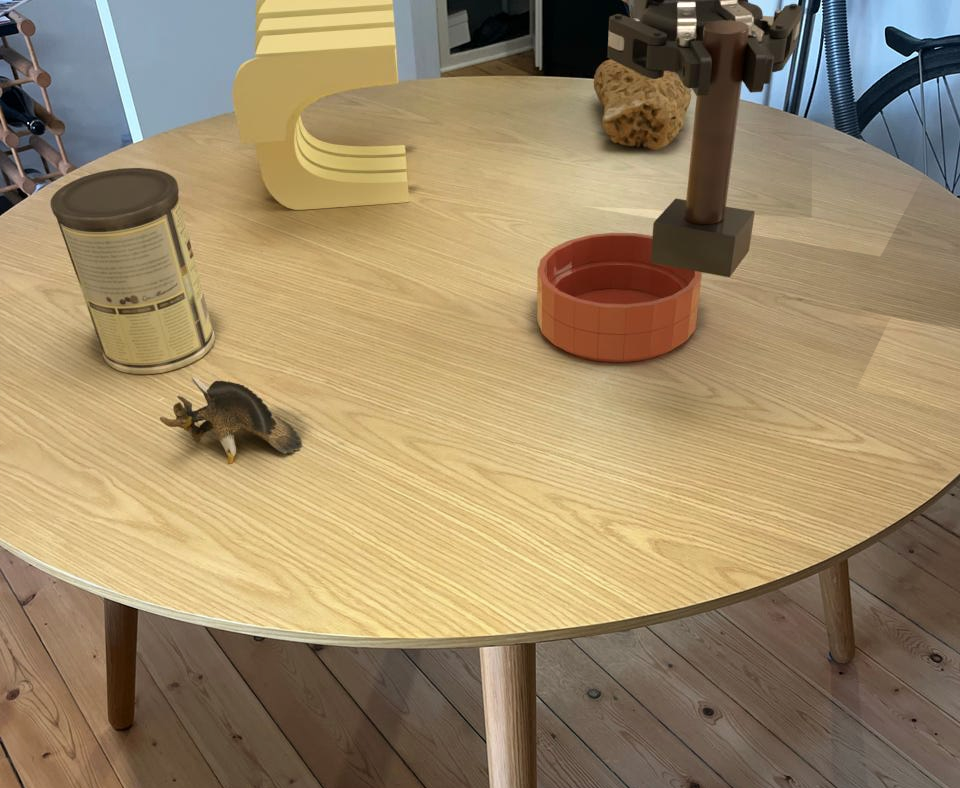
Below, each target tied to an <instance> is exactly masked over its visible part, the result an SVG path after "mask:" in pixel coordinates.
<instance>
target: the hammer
mask: <svg viewBox="0 0 960 788" xmlns="http://www.w3.org/2000/svg"><path fill="white" fill-rule="evenodd" d="M748 33H749V26H748V25H747V24H745V23H743V22H739V21H732V20H721V21H714V22H710V23H708V24H706V25H705V26H704V29H703V39H702V44H703V45H704V46H705V48H706V49H707V51H708V52H709V54H710V56H711V59H712V67H711V77H710V86H709V93H708V95H700V96H696V99H695V109H694V119H693V129H692V140H691V149H690V158H689V169H688V178H687V186H686V187H687V188H686V199H682V198H674V199H673V200H672V201H671V203H670V204H669V205H668V206H667V207H666V208H665V209H664V210H663V212H661V214H659V216H658V217H657V218H656V219H655V220H654V221H653V225H652V235H651V236H652V248H651V261H650V262H651V263H655V264H660V265H666V266H671V267H676V268H682V269H687V270H692V271H698V272H702V274H708V275H709V274H710V275H713V276H714V275H715V276H719V277H725V278H731V276H732V275H733V274H734V272H735V271H736V269H738V267H739V265H740V264H741V263H742V261H743V260H744V259H745V257H746V256H747V254H748V253H749V252H750V246H751V240H752V234H753V226H754V220H755V214H756V212H755V210H749V209H744V208H737V207H732V206H727V203H728V202H727V200H728V193H729V187H730V178H731V170H732V163H733V162H732V161H733V154H734V147H735V141H736V139H735V138H736V131H737V126H738V123H737V122H738V117H739V109H740V100H741V95H742V94H741V93H742V88H743V87H742V86H743V81H742V79H743V71H744V64H745V56H746V48H747V40H748Z"/></svg>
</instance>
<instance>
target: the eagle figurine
mask: <svg viewBox="0 0 960 788" xmlns="http://www.w3.org/2000/svg"><path fill="white" fill-rule="evenodd" d="M190 379H191V381H192V383H193V384H194V385H195V386H196V387H197V388H198V390H200V391H201V393H202V394H203V396H204V399H205V401H206V403H207V404H206V405H205V406H202V407H200V408H199V409H196V410H193V404H192V402H190V401H189V400H187V399H186V398H185V397H183V396H181V395H177V398H178V399H179V400H180V402H177V403H174V404H173V407H172V410H173V413H174V415H175V418H174V419H173V418H167V417H164V416H160V417H159V420H160V422H162V424H164V425H165V426H167V427H170V428H180V429H183V430H184V431H186V432H188V433H189V434H190V436H191V437H192V439H193V441H194V443H200V442H201V439H202V438H203V436H204V434H206V433H208V432H209V431H214V433H215V435H216V437H217V439H218V441H219V442H220V444H221V446H222V447H223V449H224V451H225V454H226V456H227V458H228V461H227V463H228V464H232V463H233V462H234V460H235V459H234V458H235V455H236V453H237V446H236V442H235V436H234V435H235V434H236V433H237V432H247V433H250V434H253V435H255V436H256V437H259V438H260V439H262V440H263V441H265V442H267V443H268V444H269V445H270V446H271V447H272V448H274V449H275V450H277V451H278V452H280V454H283V455H286V454H287V453H288V454H289V453H290V454H293V453H294V452H295V451H299V450H301V447H302V446H303V443H302V442H301V441H302V437H300V436H299V435H298V432H297V431H296V430H295V429H294V427H292V426H291V424H290V423H287V421H285V420H283V419H281V418H280V417H279V416H277V415H274V414H273V412H272V411H271V410H270V409H269V406H268V405H267V404H266V403H264V400H263V399H262V398H260V397H259V396H258V394H256V393H255V392H254V391H253V390H251V389H250V388H249V387H248V386H247V387H246V386H245V385H244V384H241V383H236V382H233V381H226V380H215V381H213V383H211V384H210V386H207V385H205V383H203V382H202V381H201V380H200V379H199V378H198V377H194V376H191V377H190ZM203 421H204V422H203ZM199 422H202V423H201V424H200V425H199V426H198V425H196V423H199Z"/></svg>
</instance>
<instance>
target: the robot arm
mask: <svg viewBox="0 0 960 788" xmlns="http://www.w3.org/2000/svg"><path fill="white" fill-rule="evenodd" d="M621 1H622V2H624V3H625V4H627V6H628V10H629V16H630V17H629V16H627V15H623V14H621V13H616V14H614V15H611V16H609V18H608V37H607V38H608V41H607V58H608V60H610V59H611V60H613V61H615V62H617V63H619V64H621V65H623V66H625V67H628V68H630V69H632V70H634V71H636V72H638V73H640V74H642V75H644V76H646V77H648V78H651V79H658V78H661V77H663V76H664V71H670V72H673V74H674V78H675V79H678V80H681V82H682V83H683V85H684V86H685V87H687V88H690V89H691V90H692V91H693V93H694V95H695V96H696V97H697V96H700V95H708V93H709V86H710V77H711V67H712V59H711V56H710V54H709V52H708V51H707V49H706V48H705V46H704V45H703V44H702V39H703V29H704V26H705V25H706V24H708V23H710V22H714V21H721V20H732V21H739V22H743V23H745V24H747V25H748V26H749V33H748V40H747V48H746V56H745V64H744V71H743V79H742V83H743V85H744V86H745V87H746V88H747V90H748V92H749V93H762V92H763V91H764V87H765V85H768V84H769V85H770V84H771V80H772V74H773V73H777V72H780V71H783V70H784V68H785V67H786V65H787V63H788V62H789V60H790V58H791V56H792V55H793V53H794V52H795V50H796V48H797V43H798V39H799V32H800V26H801V20H802V19H801V18H802V13H803V6H802V5H799V4H798V3H790V4H787V5H784V6H783V8H782V10H781V9H775V11H774V14H773V16H770V15H764V13H763V10H762V8H761V7H760V6H759V5H758V4H754V3H751V2H749V0H621Z"/></svg>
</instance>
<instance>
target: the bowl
mask: <svg viewBox="0 0 960 788" xmlns="http://www.w3.org/2000/svg"><path fill="white" fill-rule="evenodd" d="M652 236H653V235H649V234H644V233H636V232H606V233H605V232H604V233H597V234H596V233H595V234H588V235H584V236H580V237H577V238H573V239H569V240H567V241H565V242H563V243H560V244H559V245H556V246H555V247H552V248H551V249H549V251H548V252H547V253H545V255H543V257H541V258H540V260H539V264H538V267H537V271H536V273H537V274H536V276H537V278H536V279H537V282H536V283H537V284H536V285H537V286H536V287H537V289H536V291H537V292H536V294H537V295H536V297H537V300H536V301H537V303H536V304H537V311H536V312H537V324H538V327H539V330H540V332H541V334H542V335H543V336H544V337H545V338H546V339H547V340H548V341H549V342H550V343H552V345H554V346H556V347H558V348H560V349H561V350H563V351H564V352H566V353H568V354H571V355H573V356H576V357H579V358H583V359H586V360H589V361H590V360H591V361H596V362H604V363H629V362H638V361H645V360H649V359H653V358H655V357H659V356H662V355H664V354H666V353H668V352H671V351H673V350H674V349H676V348H677V347H679V346H681V345H683V344H684V343H685V342H687V341H688V339H689V338H690V337H691V336H692V334H693V333H694V332H695V330H696V327H697V321H698V320H697V318H698V310H699V301H700V293H701V286H702V279H703V278H702V277H703V275H702V274H703V272H698V271H692V270H687V269H682V268H676V267H671V266H666V265H660V264H655V263H651V262H650V261H651V248H652Z"/></svg>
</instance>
